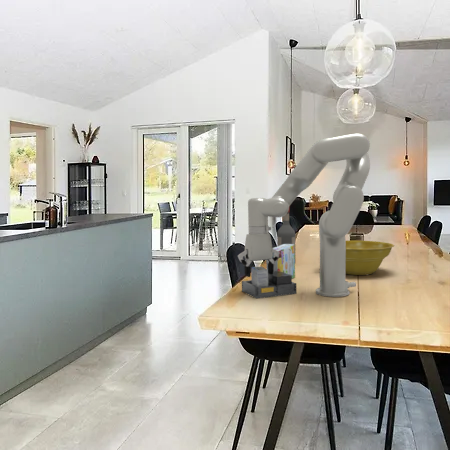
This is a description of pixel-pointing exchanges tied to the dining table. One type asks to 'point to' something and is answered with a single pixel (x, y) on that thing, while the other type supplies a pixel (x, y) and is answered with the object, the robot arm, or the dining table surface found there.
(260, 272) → the medicine box
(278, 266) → the snack box
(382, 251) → the planter bowl
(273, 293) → the rack
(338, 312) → the dining table surface
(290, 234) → the liquor
